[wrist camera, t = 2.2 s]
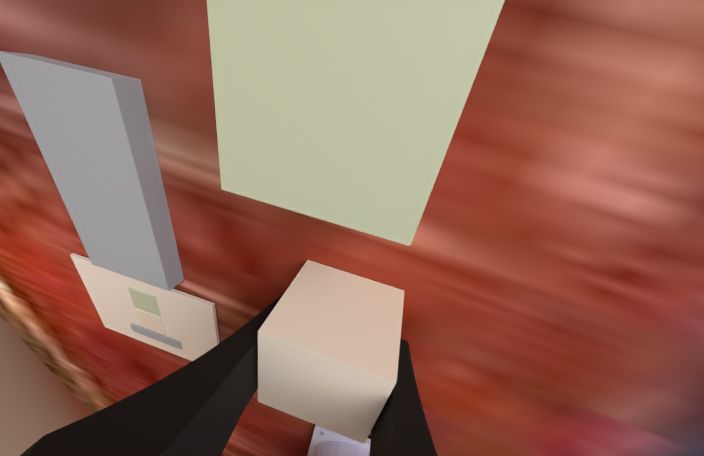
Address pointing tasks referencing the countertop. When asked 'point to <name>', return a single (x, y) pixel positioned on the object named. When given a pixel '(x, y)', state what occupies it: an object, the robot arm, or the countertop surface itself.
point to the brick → (331, 350)
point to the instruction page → (151, 311)
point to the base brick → (101, 163)
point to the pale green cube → (343, 102)
